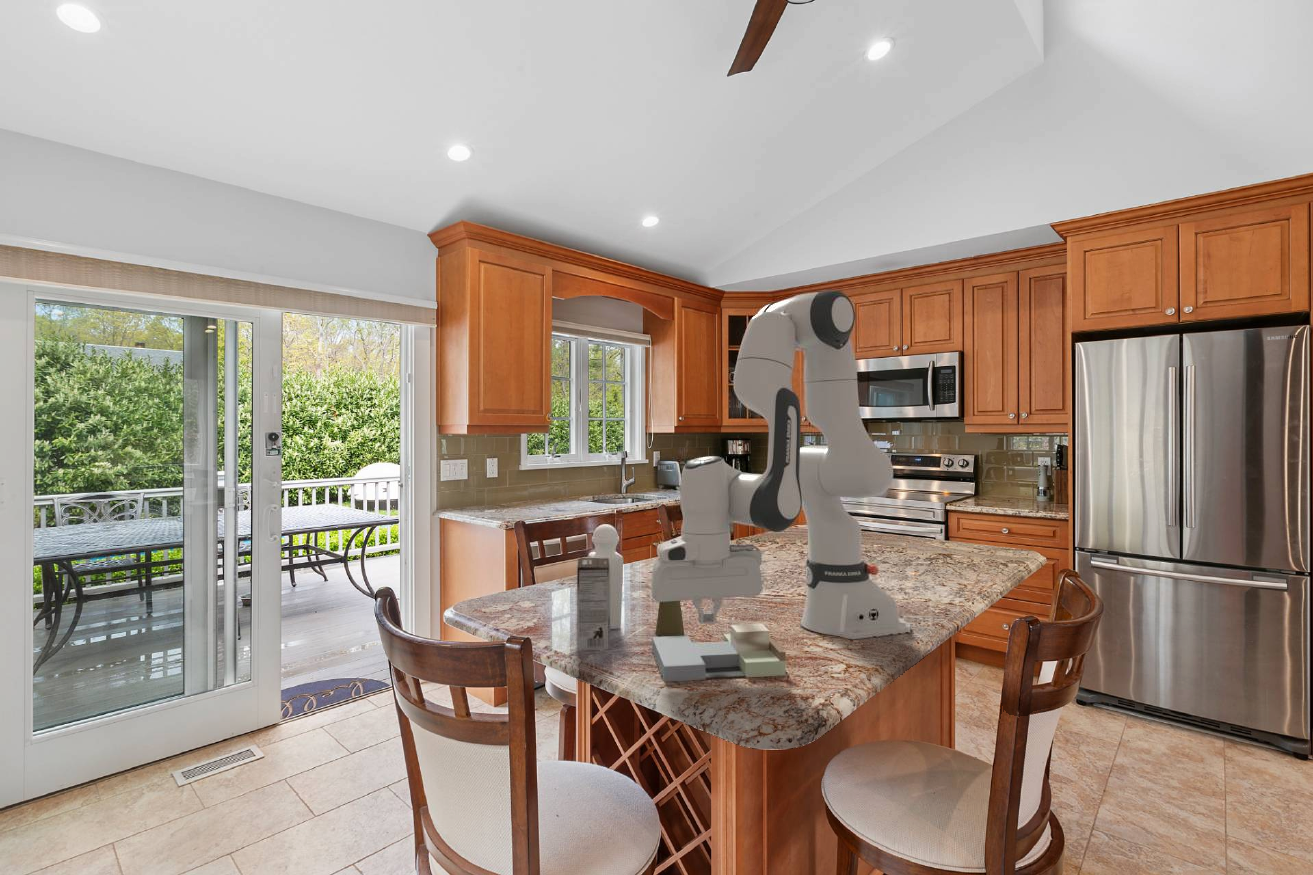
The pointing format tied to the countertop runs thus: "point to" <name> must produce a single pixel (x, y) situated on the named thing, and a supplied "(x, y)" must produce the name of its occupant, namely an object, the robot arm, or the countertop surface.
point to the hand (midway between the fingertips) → (707, 622)
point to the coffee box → (593, 603)
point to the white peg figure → (606, 548)
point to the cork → (669, 619)
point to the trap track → (714, 659)
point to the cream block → (749, 637)
